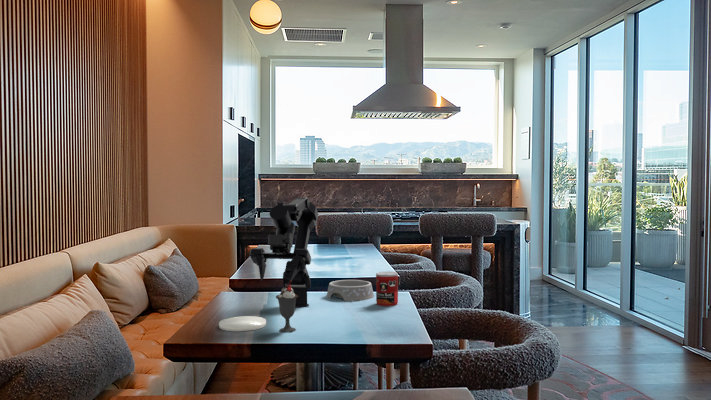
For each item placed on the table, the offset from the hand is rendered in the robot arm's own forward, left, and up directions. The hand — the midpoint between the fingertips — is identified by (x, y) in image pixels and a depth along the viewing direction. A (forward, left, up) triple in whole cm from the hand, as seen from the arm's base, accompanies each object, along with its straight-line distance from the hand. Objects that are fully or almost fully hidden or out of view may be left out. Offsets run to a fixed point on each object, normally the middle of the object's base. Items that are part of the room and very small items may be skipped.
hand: (275, 280), depth 176 cm
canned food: (-44, -8, -14) cm, 47 cm away
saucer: (+10, -3, -13) cm, 17 cm away
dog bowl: (-39, -27, -14) cm, 50 cm away
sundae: (0, +9, -14) cm, 17 cm away
